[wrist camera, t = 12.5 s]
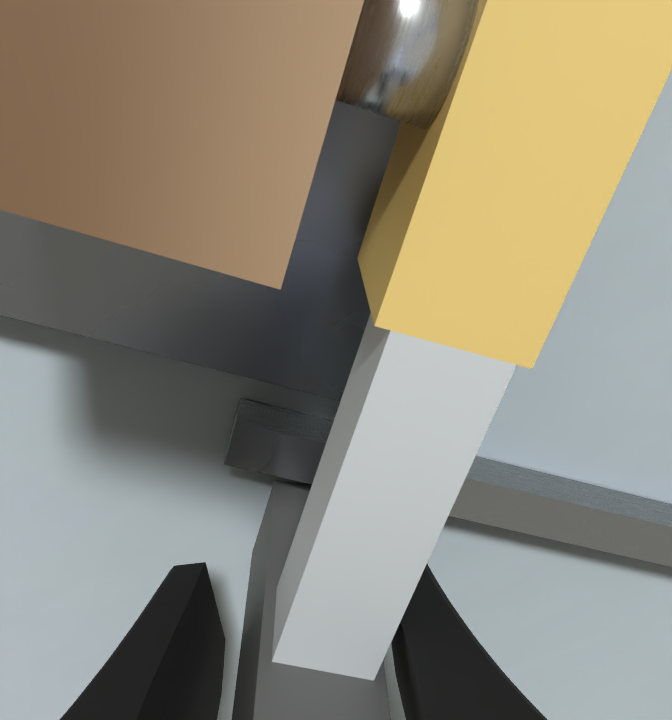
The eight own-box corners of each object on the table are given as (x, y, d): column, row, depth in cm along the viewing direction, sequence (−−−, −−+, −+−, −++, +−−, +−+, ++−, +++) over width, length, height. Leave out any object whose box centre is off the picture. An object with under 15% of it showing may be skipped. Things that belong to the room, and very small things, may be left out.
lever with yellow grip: (597, -109, 10) (994, -365, 4) (337, 568, 15) (352, 869, 9) (474, -158, 9) (718, -507, 4) (252, 551, 14) (215, 850, 9)
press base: (1172, -121, 10) (1257, -141, 9) (716, 553, 15) (741, 583, 15) (-190, -768, 7) (-263, -890, 6) (-172, 343, 12) (-210, 364, 12)
